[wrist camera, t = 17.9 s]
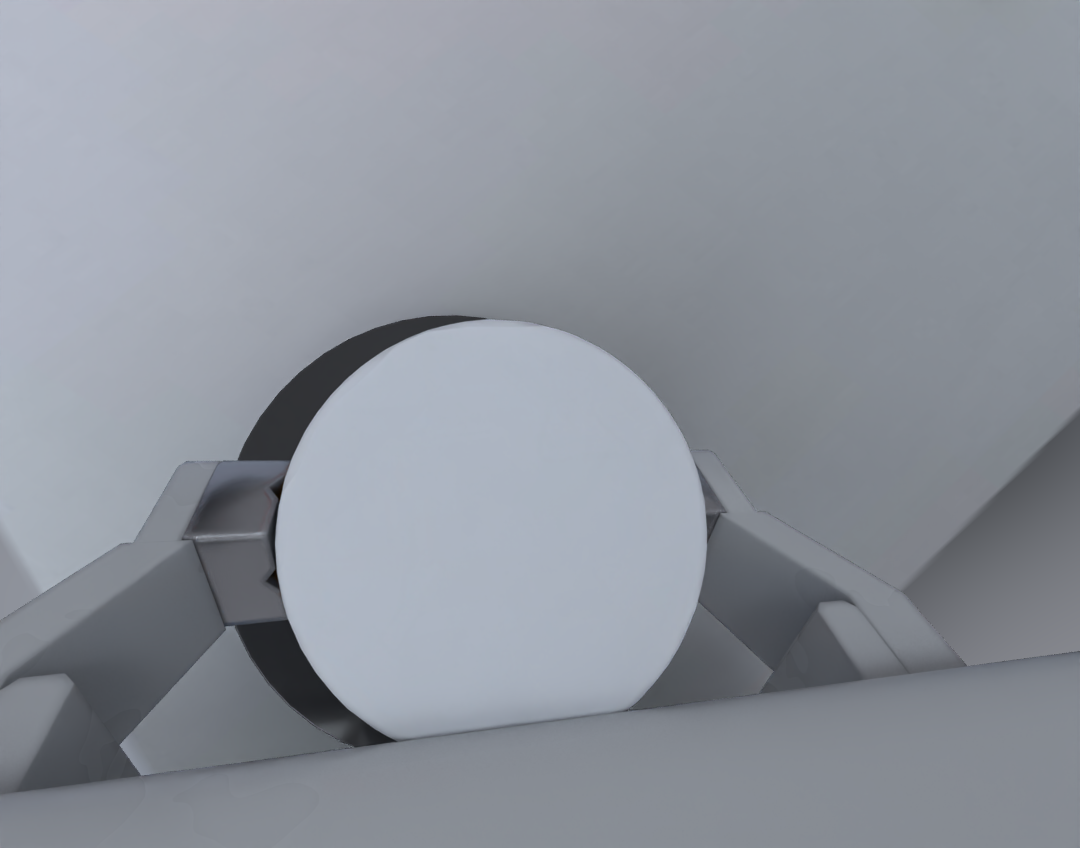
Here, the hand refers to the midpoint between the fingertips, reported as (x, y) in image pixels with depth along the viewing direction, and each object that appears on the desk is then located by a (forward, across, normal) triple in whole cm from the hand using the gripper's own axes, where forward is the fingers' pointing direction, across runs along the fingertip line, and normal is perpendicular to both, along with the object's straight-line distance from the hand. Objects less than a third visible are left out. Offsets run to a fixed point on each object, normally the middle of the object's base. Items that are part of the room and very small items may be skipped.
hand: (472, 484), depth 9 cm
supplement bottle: (+3, 0, -4) cm, 6 cm away
